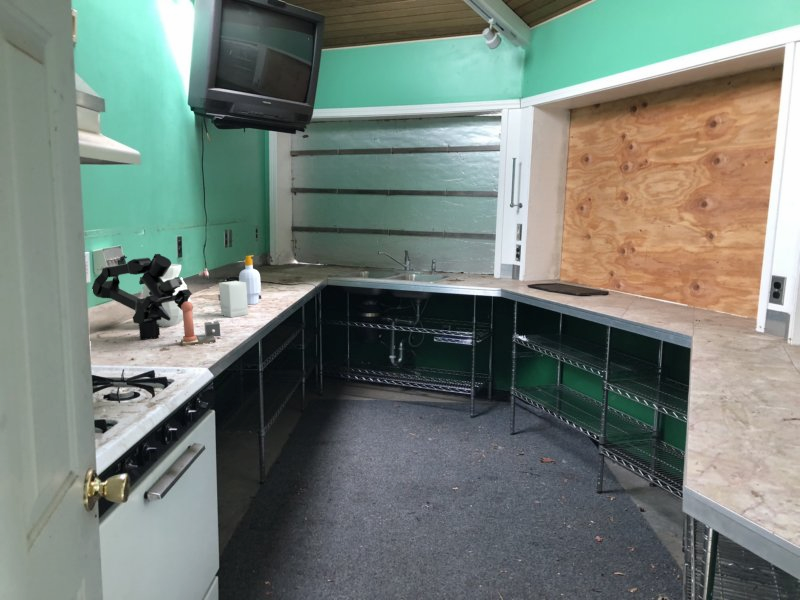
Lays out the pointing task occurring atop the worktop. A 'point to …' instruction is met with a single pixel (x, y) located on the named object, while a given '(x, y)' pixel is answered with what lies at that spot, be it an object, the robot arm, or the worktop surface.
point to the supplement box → (233, 298)
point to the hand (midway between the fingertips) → (179, 317)
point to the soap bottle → (251, 281)
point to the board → (199, 340)
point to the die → (212, 328)
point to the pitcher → (171, 307)
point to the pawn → (188, 322)
